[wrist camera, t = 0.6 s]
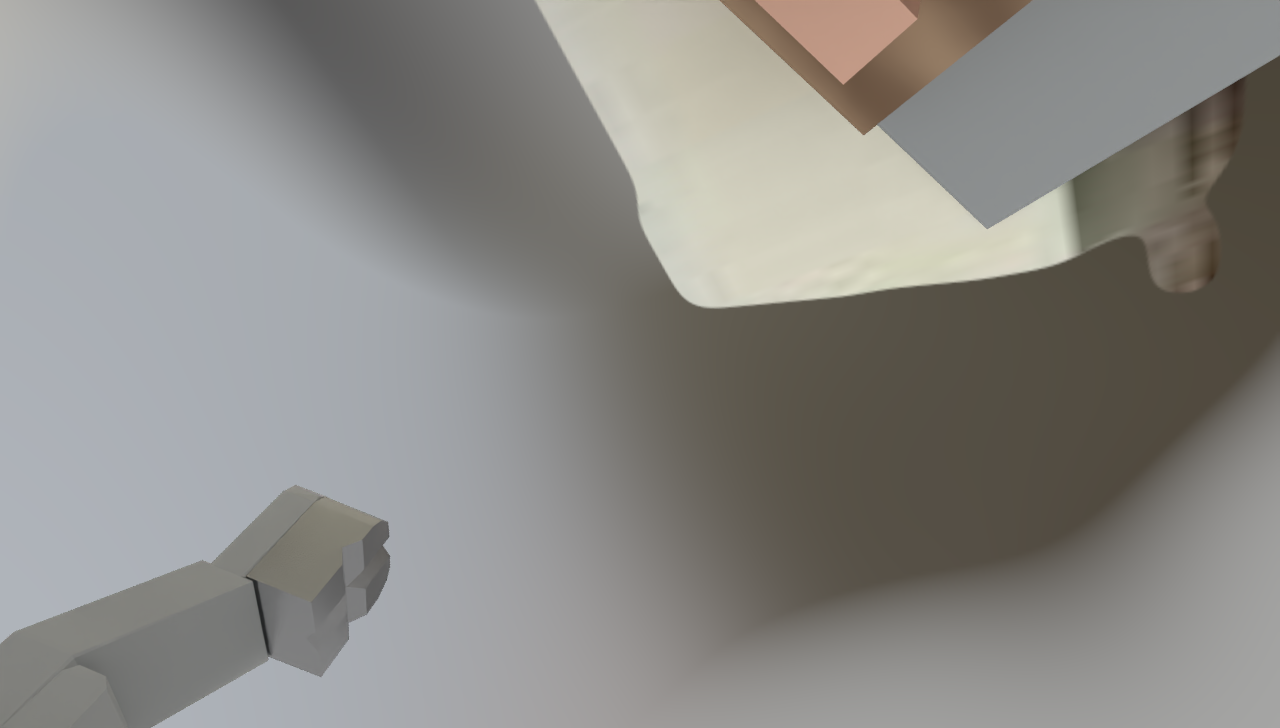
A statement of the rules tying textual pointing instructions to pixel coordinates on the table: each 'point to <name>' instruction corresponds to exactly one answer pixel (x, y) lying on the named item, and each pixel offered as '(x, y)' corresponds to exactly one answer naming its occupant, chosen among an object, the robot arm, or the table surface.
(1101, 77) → the mat
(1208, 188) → the table surface
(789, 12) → the clay tile
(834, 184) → the table surface
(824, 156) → the table surface
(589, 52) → the table surface
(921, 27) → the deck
